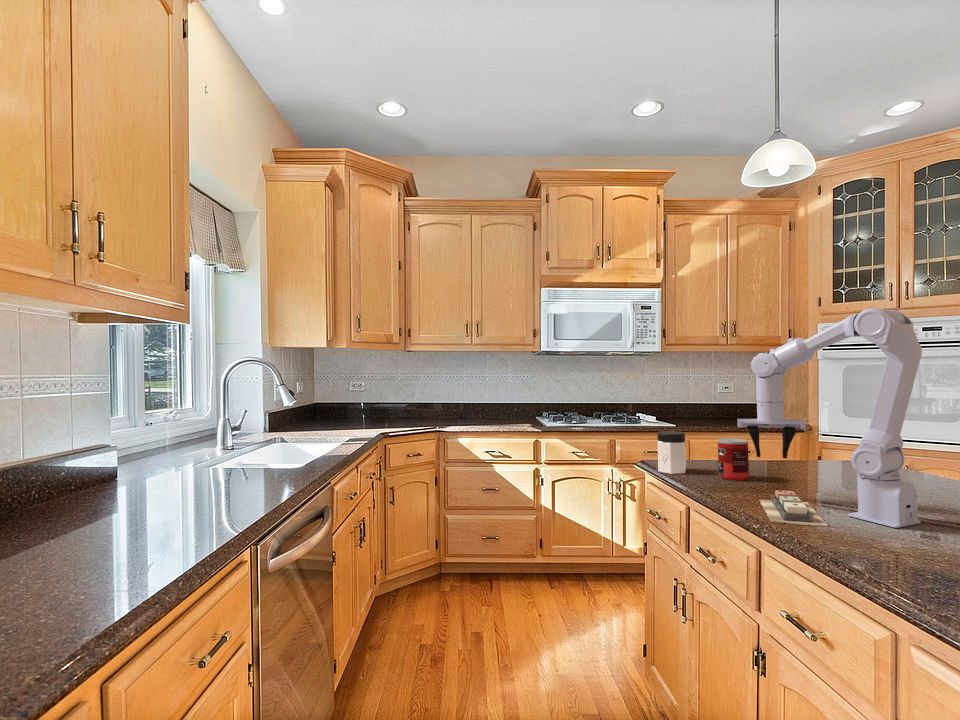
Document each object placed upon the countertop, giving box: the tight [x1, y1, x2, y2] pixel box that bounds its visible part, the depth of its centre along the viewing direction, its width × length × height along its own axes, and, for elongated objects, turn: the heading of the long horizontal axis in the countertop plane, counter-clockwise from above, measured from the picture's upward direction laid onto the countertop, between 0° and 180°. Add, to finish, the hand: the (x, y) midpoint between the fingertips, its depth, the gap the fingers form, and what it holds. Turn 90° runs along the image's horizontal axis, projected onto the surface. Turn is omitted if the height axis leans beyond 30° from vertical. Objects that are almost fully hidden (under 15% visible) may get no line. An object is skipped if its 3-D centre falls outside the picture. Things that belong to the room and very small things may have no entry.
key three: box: [774, 489, 797, 500], centre depth 120 cm, size 4×4×2 cm
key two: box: [779, 496, 802, 506], centre depth 115 cm, size 4×4×2 cm
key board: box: [758, 494, 829, 528], centre depth 115 cm, size 18×10×2 cm, turn 159°
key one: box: [784, 502, 807, 514], centre depth 110 cm, size 4×4×2 cm
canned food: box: [717, 437, 750, 482], centre depth 150 cm, size 8×8×11 cm
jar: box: [656, 430, 687, 475], centre depth 161 cm, size 9×8×12 cm
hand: (771, 457), depth 128 cm, fingers open, 5 cm apart
